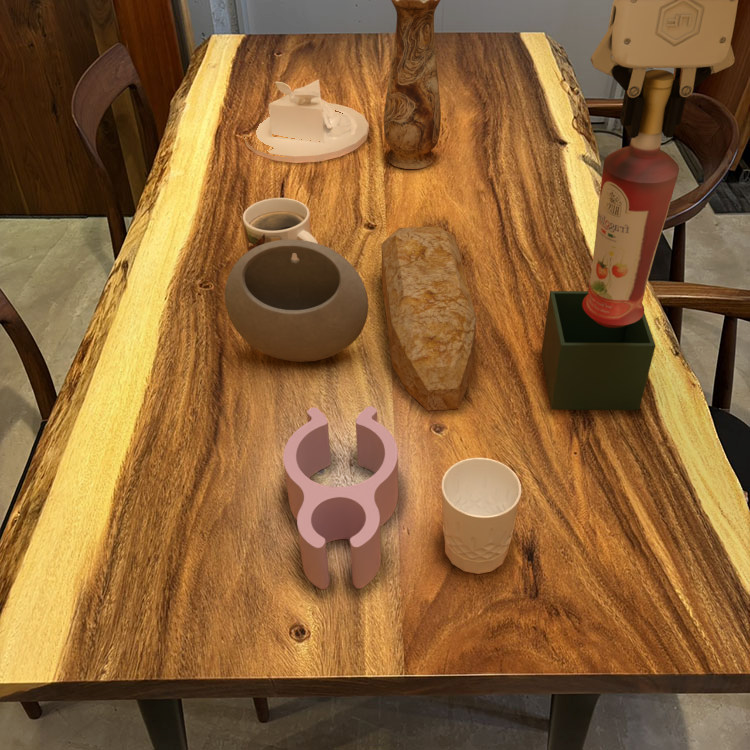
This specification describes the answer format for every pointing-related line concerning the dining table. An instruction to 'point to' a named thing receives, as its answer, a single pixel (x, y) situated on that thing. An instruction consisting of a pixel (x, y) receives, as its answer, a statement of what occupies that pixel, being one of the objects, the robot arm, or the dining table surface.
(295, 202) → the mug
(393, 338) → the bread
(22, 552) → the dining table surface
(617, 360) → the green square box
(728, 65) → the robot arm
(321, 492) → the clip
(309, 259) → the planter
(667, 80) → the liquor
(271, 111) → the dish
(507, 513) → the white cup
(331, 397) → the dining table surface
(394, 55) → the vase
